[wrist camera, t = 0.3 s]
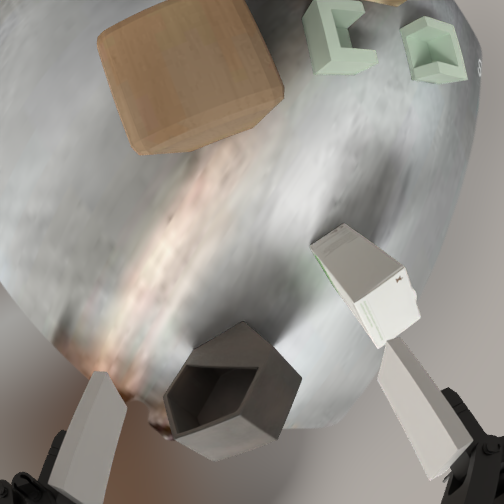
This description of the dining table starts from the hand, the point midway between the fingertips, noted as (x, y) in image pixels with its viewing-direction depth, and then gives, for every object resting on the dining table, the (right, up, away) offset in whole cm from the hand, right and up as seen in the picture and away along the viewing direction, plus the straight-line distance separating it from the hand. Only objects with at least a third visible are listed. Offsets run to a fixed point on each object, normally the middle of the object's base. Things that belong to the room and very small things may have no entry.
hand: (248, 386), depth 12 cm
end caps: (+18, +35, +18) cm, 43 cm away
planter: (-4, -10, +33) cm, 35 cm away
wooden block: (-5, +24, +20) cm, 32 cm away
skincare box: (+13, +6, +28) cm, 32 cm away
